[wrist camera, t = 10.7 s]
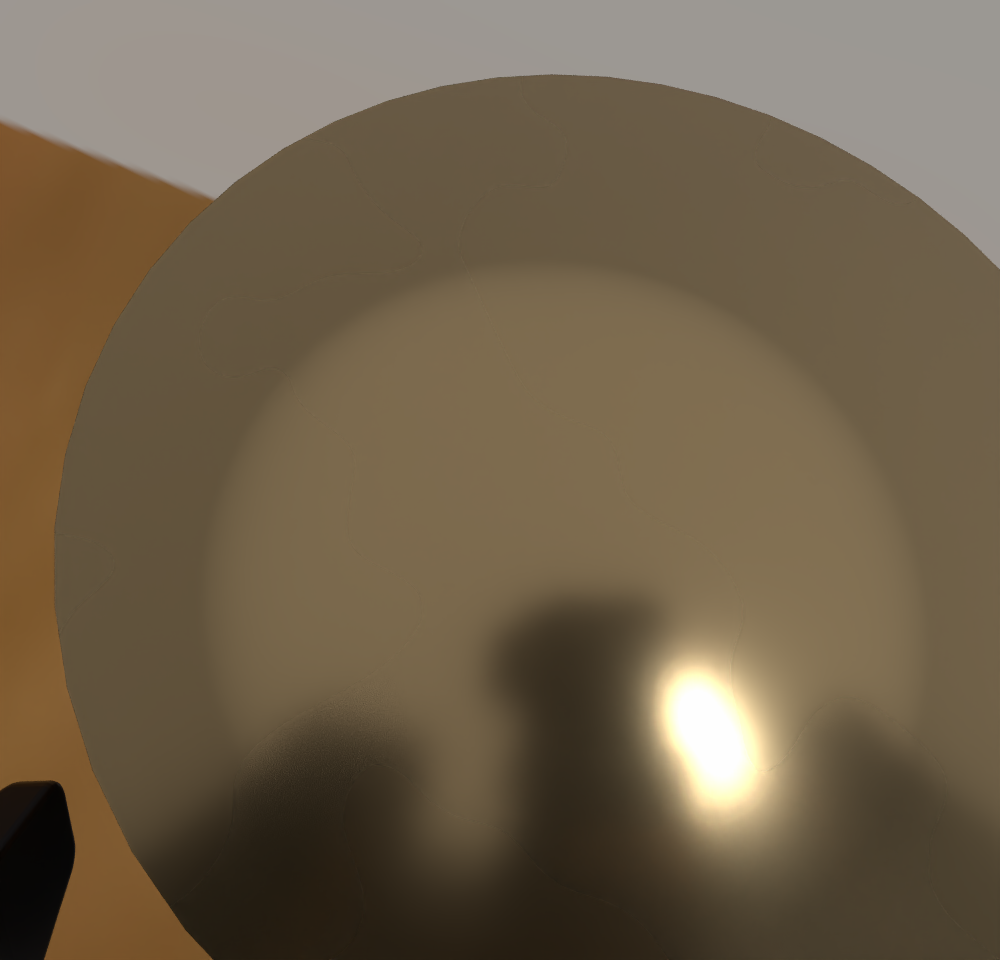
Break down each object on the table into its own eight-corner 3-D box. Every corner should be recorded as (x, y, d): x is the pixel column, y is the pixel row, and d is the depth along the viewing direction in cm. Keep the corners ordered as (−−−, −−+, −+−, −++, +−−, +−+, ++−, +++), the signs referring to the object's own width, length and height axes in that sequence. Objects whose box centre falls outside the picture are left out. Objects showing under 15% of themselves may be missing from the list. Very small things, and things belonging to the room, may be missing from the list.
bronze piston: (624, 843, 15) (1384, 1004, 3) (333, 893, 14) (-7, 1349, 2) (574, 567, 17) (940, 73, 5) (316, 596, 16) (87, 77, 4)
